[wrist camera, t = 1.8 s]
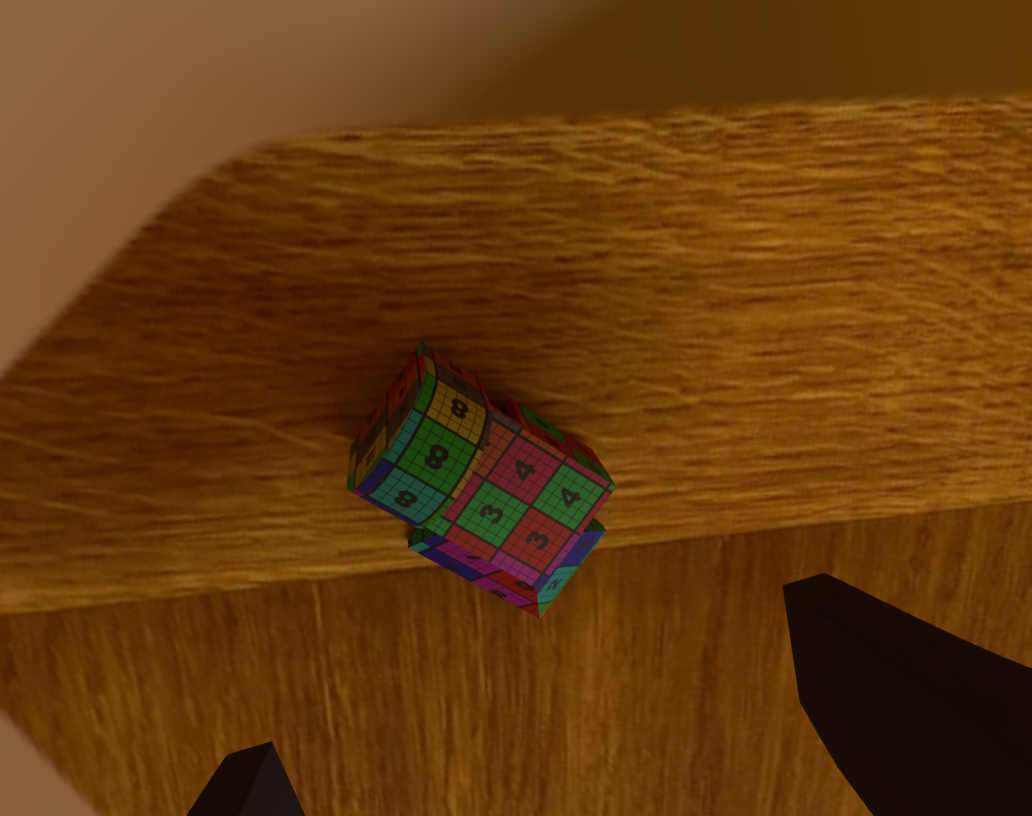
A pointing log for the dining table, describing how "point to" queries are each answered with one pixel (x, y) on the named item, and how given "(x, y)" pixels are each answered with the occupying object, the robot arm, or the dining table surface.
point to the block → (480, 482)
